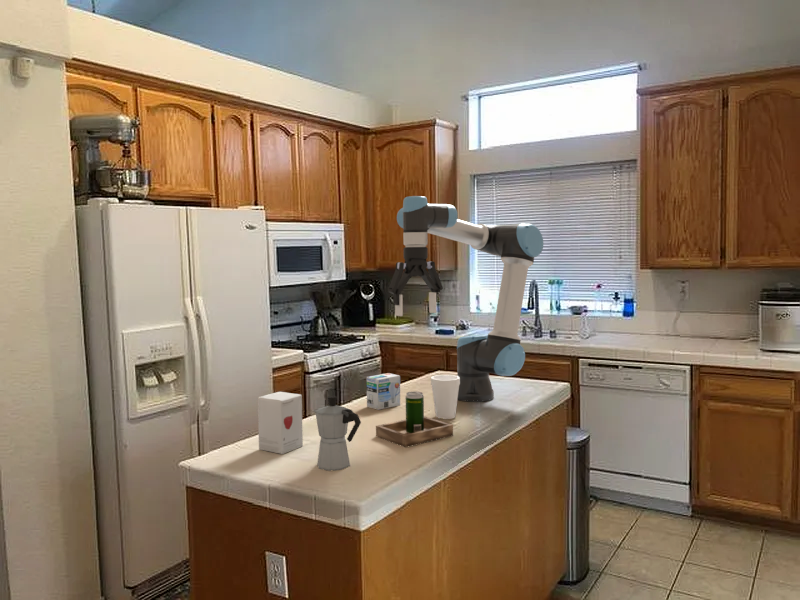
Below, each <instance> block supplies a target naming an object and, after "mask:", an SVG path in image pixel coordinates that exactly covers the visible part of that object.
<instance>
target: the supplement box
mask: <svg viewBox="0 0 800 600" xmlns="http://www.w3.org/2000/svg"><path fill="white" fill-rule="evenodd" d="M302 397H303V396H302V394H299V393H291V392H286V391H277V392H273V393H269V394H265V395H262V396H258V397H257V414H258V415H257V416H258V417H257V419H258V423H257V424H258V428H257V429H258V450H261V451H267V452H270V453H274V454H275V453H276V454H280V455H284V454H286V453H289V452H291V451H293V450H296V449H298V448H301V447H303V446H304V444H303V441H304V439H303V438H304V437H303V435H304V434H303V398H302Z"/></svg>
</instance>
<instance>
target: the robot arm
mask: <svg viewBox="0 0 800 600" xmlns="http://www.w3.org/2000/svg"><path fill="white" fill-rule="evenodd" d="M396 221H397V225H399V227H400V228H402V229H403V245H404V246H405V247H403V259H404V262H403V261H401V262H396V263H395V270H394V273H393V275H392V277H391V280H390V283H389V286H388V288H387V293H390V294H391V295H393V305H394V308H395V313H394V314H395V317H396V316H397V317H403V315H404V312H403V309H404V308H403V307H404V306H403V304H404V303H403V302H404V301H403V294H402V291H404V289H405V287H406V285H407V283H408V282H409V281H410V279H411V278H412V277H420V278H421V279H422V280H423V282H424V283H425V285H426V287H428V288H429V290H430V291H429V292H428V311H429V313H432V314H436V313H437V303H438V300H439V299H438V296H439V295H438V294H439V293H440V292H441V290H443V289H444V286H443V285H442V281H441V280H440V279H441V278H440V277H439V273H438V272H437V270H436V263H435V261H431V260H430V261H429V260H428V261H427V259H428V255H429V254H428V251H429V250H428V247H427V246H428V243H429V241H428V239H429V237H428V234H431V235H434V236H438V237H441V238H445V239H448V240H452V241H455V242H459V243H462V244H466V245H468V246H469V245H470V247H471V248H472V249H474V250H477V251H478V252H479V251H480V252H483V253H487V254H490V255H492V256H496V257H500V260H501V261H502V263H503V269H502V276H501V281H500V286H499V287H500V288H499V293H498V299H497V303H496V304H497V305H496V310H495V311H496V312H495V317H494V323H493V329H492V331H490V332H489V333H488V334H477V335H476V334H475V335H465V336H460V337H459V338H458V339H457V342H456V344H457V345H456V363H457V365H456V368H457V372H456V373H457V375H456V376H458V377H460V385H459V390H458V398H457V401H462V402H486V401H491V400H493V399H494V398H495V397H494V395H495V394H494V393H495V391H494V389H493V385H492V382H491V379H490V374H494V375H497V376H501V377H502V376H507V377H510V376H515V375H516V374H518V372H519V371H521V369H522V368H523V366H524V365H525V364H524V363H525V361H526V352H525V348H524V347H523V346H522V345H521V341H522V339H521V338H520V336H519V335H518V333H519V325H520V322H521V321H520V319H521V313H522V309H523V303H524V302H523V300H524V296H525V289H526V284H527V278H528V273H529V272H528V271H529V268H530V267H531V266H532V265H533V264H534V260H535V258H536V257H538V256H540V254H541V253H542V251H543V249H544V237H543V234H542V233H541V230H540V229H539V228H538V227H537V226H536V225H535V224H532V223H516V224H493V225H490V224H484V223H478V224H475V223H472V222H468V221H465V220H461V219H459V218H458V211H457V209H456V207H455V206H454V205H452V204H447V203H428V199H427V197H426V196H422V195H412V196H406V197H404V198H403V203H402V208H400V209H399V210H398V211H397V214H396Z"/></svg>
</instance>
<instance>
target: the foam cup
mask: <svg viewBox="0 0 800 600" xmlns="http://www.w3.org/2000/svg"><path fill="white" fill-rule="evenodd" d="M430 385H431V391H432V397H433V404H434V412H435V417H436V418H437V417H438V418H437V419H440V418H443V420H450V419H454V418H456V412H457V404H458V400H457V398H458V390H459V385H460V377H458V376H457V375H454V374H437V375H432V376H431V377H430Z"/></svg>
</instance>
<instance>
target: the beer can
mask: <svg viewBox="0 0 800 600" xmlns="http://www.w3.org/2000/svg"><path fill="white" fill-rule="evenodd" d="M424 397H425V396H424V393H423V392H421V391H408V392H406V395H405V419H406V432H407V434H410V433H414V432H419V431H423V430H424V416H425V412H424V411H425V409H424V408H425V407H424V406H425V404H424V403H425V402H424V401H425V400H424Z"/></svg>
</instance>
